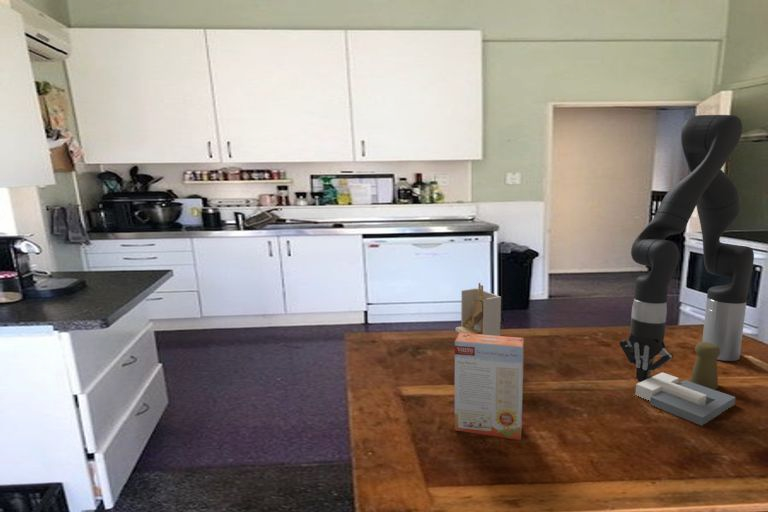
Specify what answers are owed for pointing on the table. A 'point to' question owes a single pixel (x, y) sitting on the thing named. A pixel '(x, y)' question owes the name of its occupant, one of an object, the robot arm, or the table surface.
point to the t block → (668, 389)
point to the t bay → (690, 410)
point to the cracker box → (489, 385)
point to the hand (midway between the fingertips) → (642, 381)
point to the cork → (706, 365)
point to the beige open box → (480, 312)
